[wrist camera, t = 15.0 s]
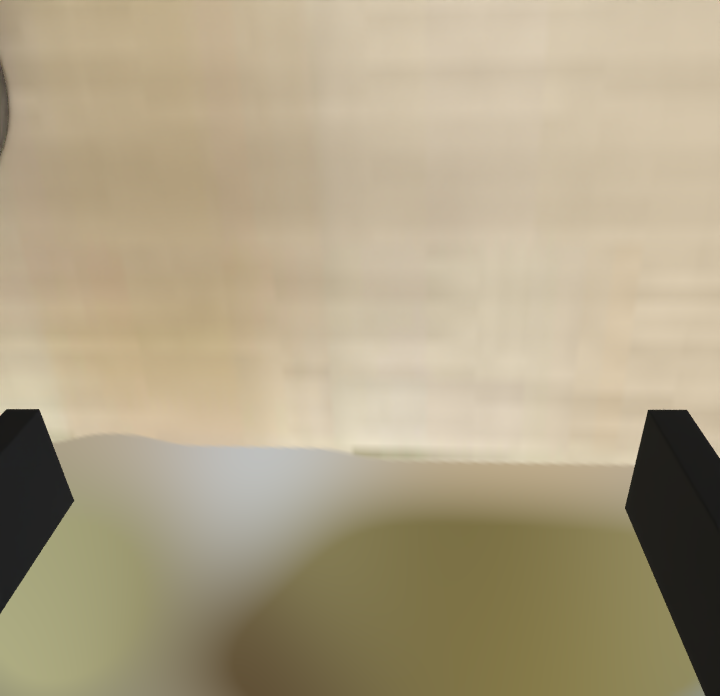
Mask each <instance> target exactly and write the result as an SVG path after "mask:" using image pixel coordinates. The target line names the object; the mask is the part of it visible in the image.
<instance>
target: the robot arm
mask: <svg viewBox="0 0 720 696" xmlns="http://www.w3.org/2000/svg"><path fill="white" fill-rule="evenodd" d="M8 115H9V110H8V96H7V89H6V83H5V79H4V74H3V70H2V67H1V64H0V155H1V152H2V150H3V147H4V143H5V139H6V135H7V128H8ZM73 502H74V499H73V497H72V494H71V491H70V489H69V486H68V484H67V481H66V478H65V476H64V473H63V470H62V468H61V465H60V463H59V460H58V457H57V455H56V452H55V449H54V447H53V444H52V442H51V439H50V436H49V434H48V431H47V428H46V426H45V423H44V421H43V418H42V415H41V413H40V410H39V409H6V410H5V411H4V413H3V414H2V415H1V416H0V613H1V612H2V610H3V609H4V607H5V606H6V604H7V602H8V601H9V599H10V598H11V596H12V595H13V593H14V591H15V590H16V589H17V587H18V586H19V584H20V583H21V581H22V580H23V578H24V576H25V575H26V573H27V572H28V570H29V569H30V567H31V566H32V564H33V563H34V561H35V560H36V558H37V557H38V555H39V553H40V552H41V550H42V549H43V547H44V546H45V544H46V543H47V541H48V540H49V538H50V537H51V535H52V534H53V532H54V531H55V529H56V528H57V526H58V524H59V523H60V521H61V520H62V518H63V517H64V515H65V514H66V512H67V511H68V509H69V508H70V506H71V505H72V503H73ZM625 509H626V511H627V514H628V516H629V519H630V521H631V523H632V525H633V528H634V530H635V532H636V535H637V537H638V539H639V542H640V544H641V547H642V549H643V551H644V554H645V556H646V558H647V560H648V563H649V565H650V567H651V570H652V572H653V574H654V577H655V579H656V582H657V584H658V586H659V588H660V591H661V593H662V595H663V598H664V600H665V603H666V605H667V607H668V609H669V612H670V614H671V616H672V619H673V621H674V624H675V626H676V628H677V631H678V633H679V635H680V637H681V640H682V642H683V645H684V647H685V649H686V652H687V654H688V656H689V659H690V661H691V663H692V666H693V668H694V670H695V673H696V675H697V677H698V680H699V682H700V684H701V687H702V689H703V691H704V693H705V696H720V458H719V457H718V455H717V454H716V452H715V451H714V449H713V448H712V446H711V445H710V443H709V442H708V440H707V439H706V438H705V436H704V435H703V433H702V432H701V430H700V429H699V427H698V426H697V424H696V423H695V421H694V420H693V418H692V417H691V415H690V414H689V412H688V411H687V410H648V413H647V417H646V421H645V425H644V430H643V434H642V438H641V442H640V447H639V451H638V455H637V459H636V464H635V468H634V472H633V476H632V480H631V485H630V489H629V494H628V498H627V502H626V506H625Z"/></svg>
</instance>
